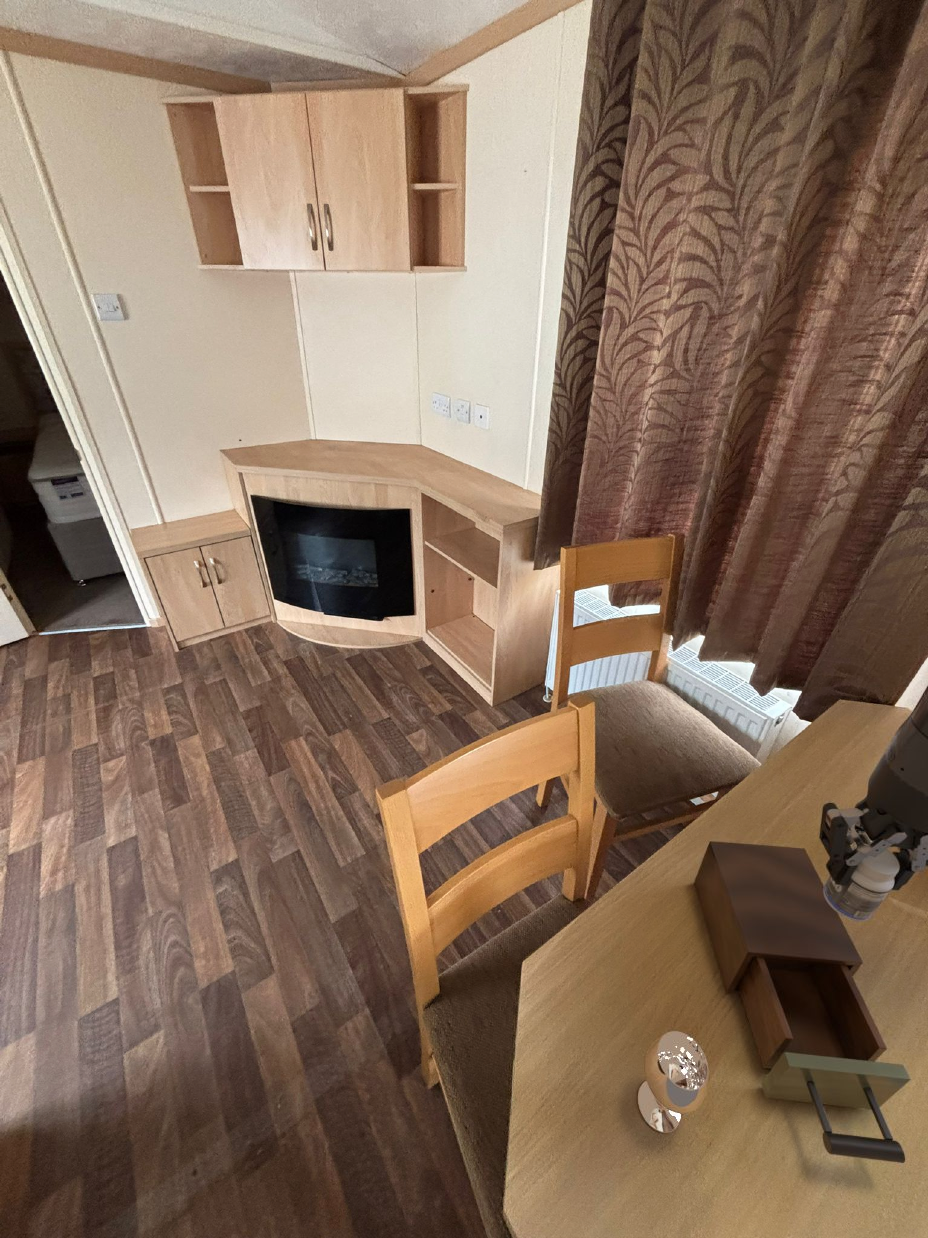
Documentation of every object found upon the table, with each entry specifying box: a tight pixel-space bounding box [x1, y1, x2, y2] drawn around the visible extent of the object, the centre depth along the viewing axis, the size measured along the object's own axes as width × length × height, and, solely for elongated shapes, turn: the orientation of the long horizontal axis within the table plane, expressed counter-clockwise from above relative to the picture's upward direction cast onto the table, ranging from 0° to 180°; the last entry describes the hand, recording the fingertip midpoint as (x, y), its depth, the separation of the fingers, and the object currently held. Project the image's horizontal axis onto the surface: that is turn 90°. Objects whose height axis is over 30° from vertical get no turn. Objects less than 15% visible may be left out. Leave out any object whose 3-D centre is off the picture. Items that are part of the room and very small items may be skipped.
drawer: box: [738, 956, 911, 1164], centre depth 57 cm, size 19×11×8 cm, turn 175°
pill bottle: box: [824, 840, 900, 922], centre depth 57 cm, size 5×5×8 cm
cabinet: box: [693, 840, 864, 996], centre depth 69 cm, size 15×13×10 cm
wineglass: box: [637, 1030, 710, 1134], centre depth 54 cm, size 6×6×12 cm
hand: (862, 879), depth 57 cm, fingers closed on pill bottle, 4 cm apart
